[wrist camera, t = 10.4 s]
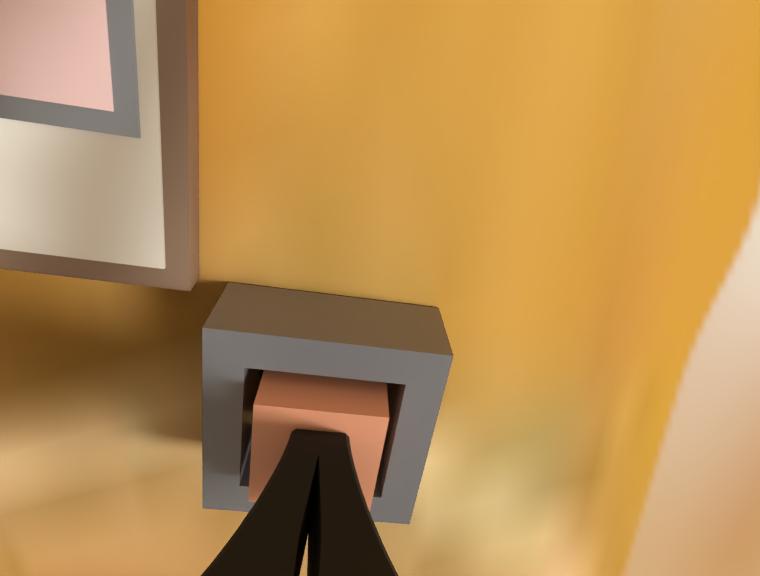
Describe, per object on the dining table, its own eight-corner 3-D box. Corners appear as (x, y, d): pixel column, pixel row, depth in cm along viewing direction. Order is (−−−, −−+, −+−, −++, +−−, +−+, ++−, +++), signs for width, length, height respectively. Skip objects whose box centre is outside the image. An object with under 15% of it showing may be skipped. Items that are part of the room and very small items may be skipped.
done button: (262, 445, 14) (248, 501, 13) (268, 356, 13) (253, 404, 11) (369, 455, 15) (369, 511, 13) (385, 368, 13) (389, 417, 12)
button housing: (224, 444, 16) (202, 508, 14) (228, 282, 14) (202, 327, 11) (402, 460, 17) (409, 523, 14) (438, 307, 14) (453, 355, 12)
